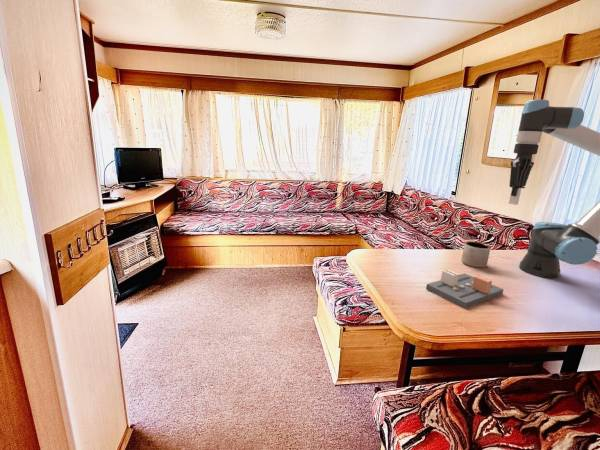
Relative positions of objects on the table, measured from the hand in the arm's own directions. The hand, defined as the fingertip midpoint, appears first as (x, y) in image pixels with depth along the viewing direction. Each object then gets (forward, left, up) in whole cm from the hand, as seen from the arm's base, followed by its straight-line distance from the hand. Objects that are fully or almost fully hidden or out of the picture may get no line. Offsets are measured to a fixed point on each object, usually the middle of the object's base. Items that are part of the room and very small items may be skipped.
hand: (513, 203), depth 128 cm
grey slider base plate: (+21, +14, -32) cm, 41 cm away
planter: (+1, -16, -33) cm, 36 cm away
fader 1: (+26, +12, -30) cm, 42 cm away
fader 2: (+16, +17, -30) cm, 38 cm away
